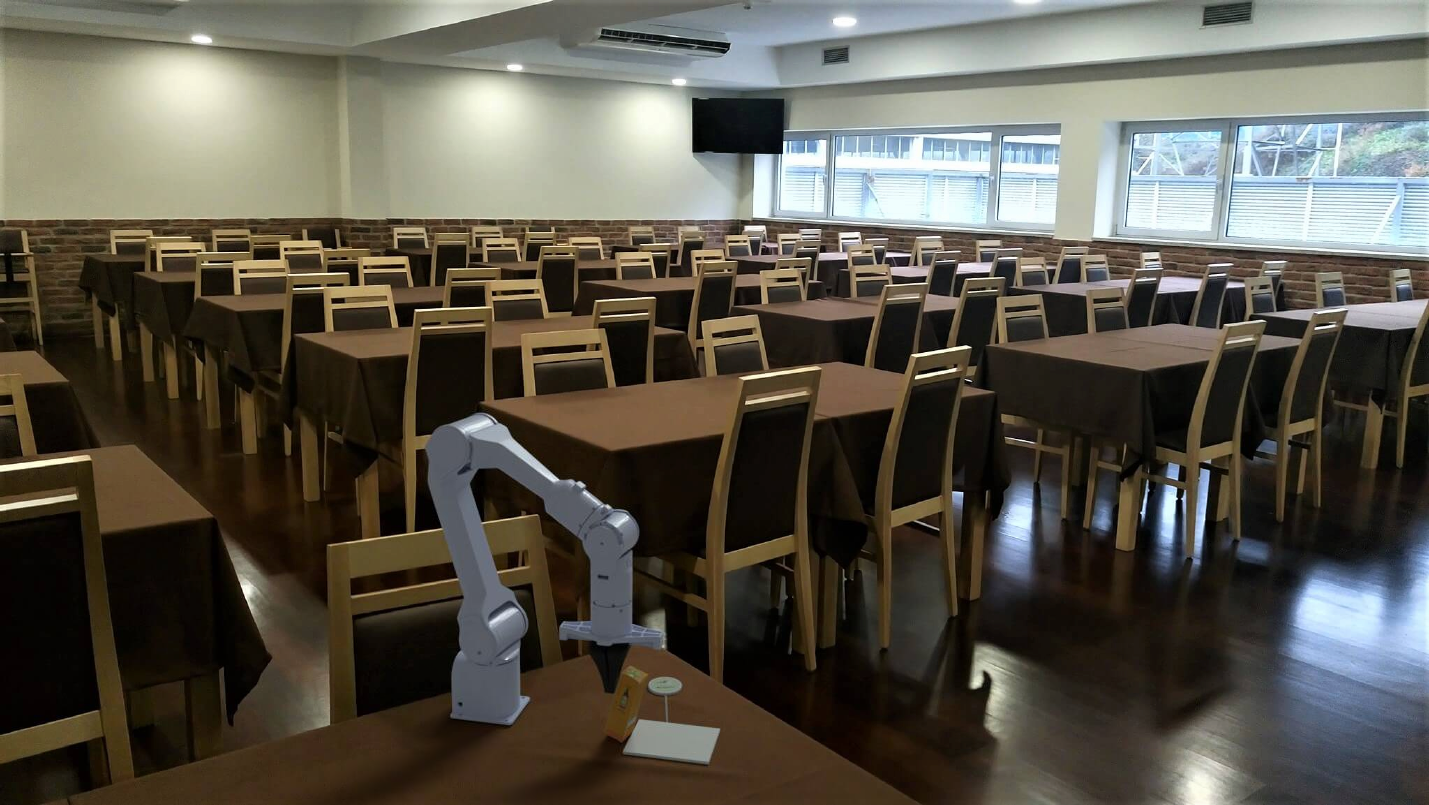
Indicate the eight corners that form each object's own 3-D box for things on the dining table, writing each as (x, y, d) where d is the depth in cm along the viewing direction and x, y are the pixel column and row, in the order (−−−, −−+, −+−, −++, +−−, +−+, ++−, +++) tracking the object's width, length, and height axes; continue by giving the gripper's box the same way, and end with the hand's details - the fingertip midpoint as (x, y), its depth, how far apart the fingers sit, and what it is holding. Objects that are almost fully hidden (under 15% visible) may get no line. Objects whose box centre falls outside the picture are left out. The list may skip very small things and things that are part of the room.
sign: (649, 726, 150) (648, 677, 165) (648, 732, 150) (648, 682, 165) (685, 726, 151) (681, 677, 165) (684, 732, 151) (681, 681, 165)
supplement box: (633, 733, 149) (650, 674, 146) (621, 744, 146) (638, 684, 143) (614, 722, 150) (630, 663, 147) (601, 733, 147) (618, 673, 144)
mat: (622, 754, 143) (622, 751, 143) (639, 721, 152) (639, 719, 152) (708, 764, 141) (708, 761, 141) (720, 731, 150) (720, 728, 150)
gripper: (551, 605, 141) (552, 697, 144) (655, 615, 139) (654, 709, 142) (568, 586, 148) (568, 675, 151) (667, 595, 146) (666, 685, 148)
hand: (611, 690), depth 147 cm, fingers closed
